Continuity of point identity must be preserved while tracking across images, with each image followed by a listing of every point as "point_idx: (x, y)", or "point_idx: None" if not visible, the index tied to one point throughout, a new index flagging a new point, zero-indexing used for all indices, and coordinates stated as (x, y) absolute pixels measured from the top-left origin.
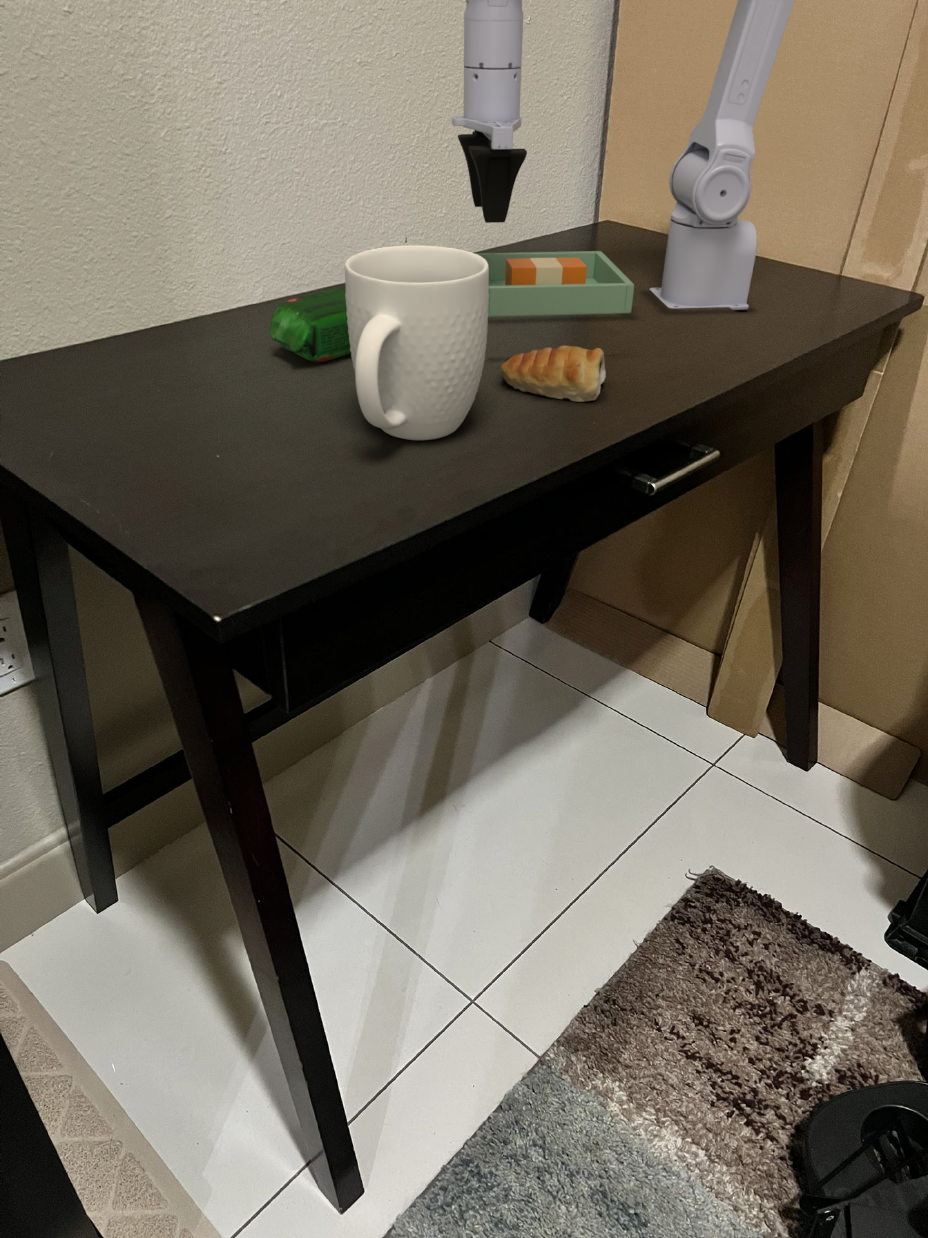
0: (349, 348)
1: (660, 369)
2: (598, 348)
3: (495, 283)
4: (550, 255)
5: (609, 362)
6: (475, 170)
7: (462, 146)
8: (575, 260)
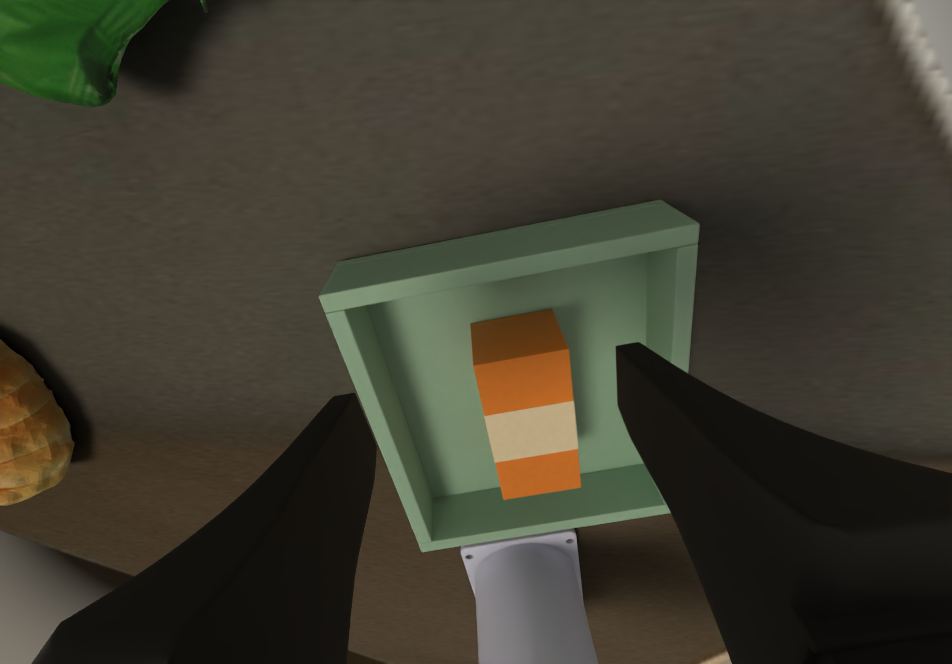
0: None
1: (181, 523)
2: (1, 502)
3: (618, 284)
4: None
5: (179, 470)
6: (685, 444)
7: (799, 489)
8: (554, 482)
